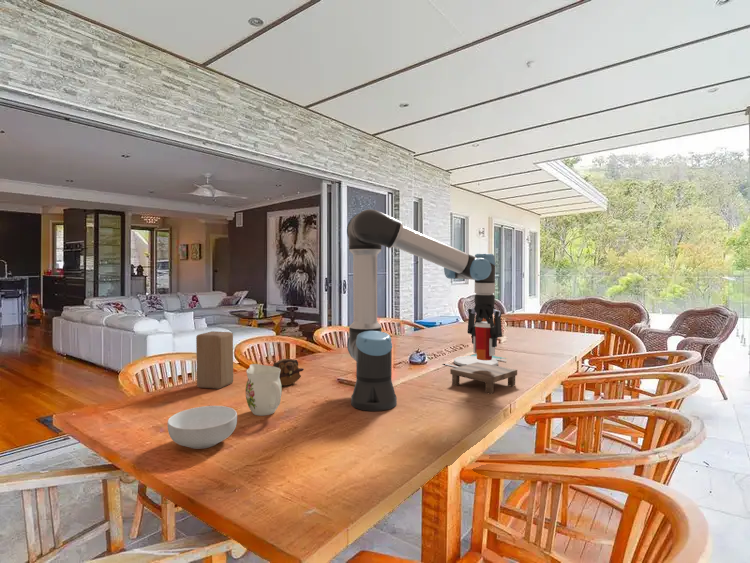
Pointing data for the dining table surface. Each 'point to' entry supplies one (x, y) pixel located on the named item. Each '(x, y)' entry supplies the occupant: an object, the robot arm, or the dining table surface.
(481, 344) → the paper cup
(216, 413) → the cereal bowl
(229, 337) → the block
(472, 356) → the place mat
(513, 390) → the dining table surface
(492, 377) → the walnut stand
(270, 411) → the pitcher
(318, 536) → the dining table surface
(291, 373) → the wooden carving
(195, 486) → the dining table surface
